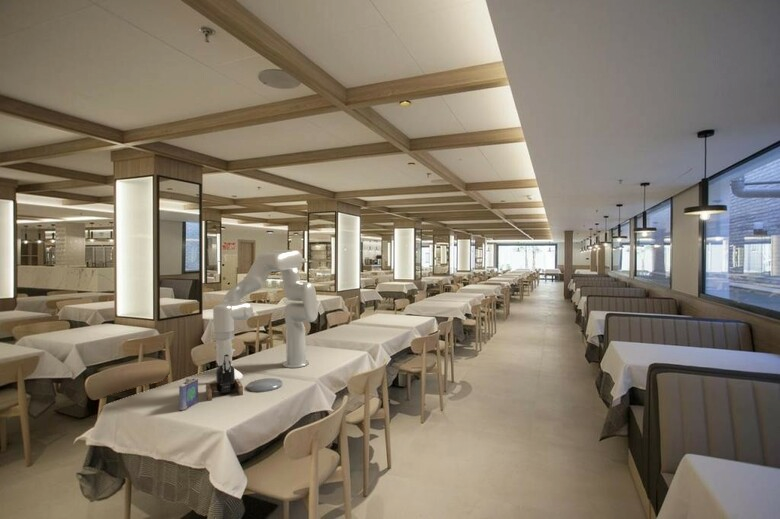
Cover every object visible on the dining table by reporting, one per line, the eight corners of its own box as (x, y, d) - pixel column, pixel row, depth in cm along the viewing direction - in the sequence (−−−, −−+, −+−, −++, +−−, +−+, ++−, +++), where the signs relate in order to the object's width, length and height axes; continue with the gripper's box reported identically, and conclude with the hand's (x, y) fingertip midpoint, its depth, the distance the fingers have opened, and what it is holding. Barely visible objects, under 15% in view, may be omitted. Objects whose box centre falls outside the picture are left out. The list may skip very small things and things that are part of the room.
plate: (244, 384, 166) (244, 381, 166) (277, 379, 173) (277, 376, 173) (250, 394, 154) (250, 391, 154) (285, 388, 161) (285, 385, 161)
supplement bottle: (216, 388, 157) (215, 359, 157) (234, 385, 160) (233, 357, 160) (216, 394, 151) (215, 363, 151) (235, 391, 154) (234, 361, 153)
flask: (184, 411, 138) (183, 381, 138) (176, 411, 138) (176, 380, 138) (199, 401, 147) (199, 373, 147) (192, 401, 147) (192, 373, 147)
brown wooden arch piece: (205, 392, 157) (205, 383, 157) (238, 386, 163) (238, 378, 163) (208, 400, 147) (208, 391, 147) (242, 394, 154) (242, 386, 154)
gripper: (211, 332, 161) (213, 375, 161) (216, 341, 146) (217, 388, 146) (231, 330, 164) (232, 372, 165) (237, 338, 149) (238, 384, 150)
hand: (225, 379), depth 155 cm, fingers closed on supplement bottle, 6 cm apart
